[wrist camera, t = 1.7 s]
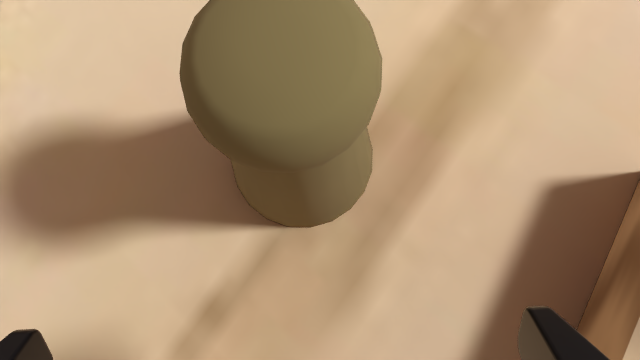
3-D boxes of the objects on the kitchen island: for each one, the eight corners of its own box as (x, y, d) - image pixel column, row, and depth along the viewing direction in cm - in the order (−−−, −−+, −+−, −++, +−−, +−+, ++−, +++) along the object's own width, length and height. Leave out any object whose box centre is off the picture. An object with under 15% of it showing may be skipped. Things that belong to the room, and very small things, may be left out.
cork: (203, 153, 23) (91, 38, 13) (307, 63, 24) (286, -119, 13) (296, 257, 22) (262, 230, 12) (402, 161, 23) (462, 50, 12)
